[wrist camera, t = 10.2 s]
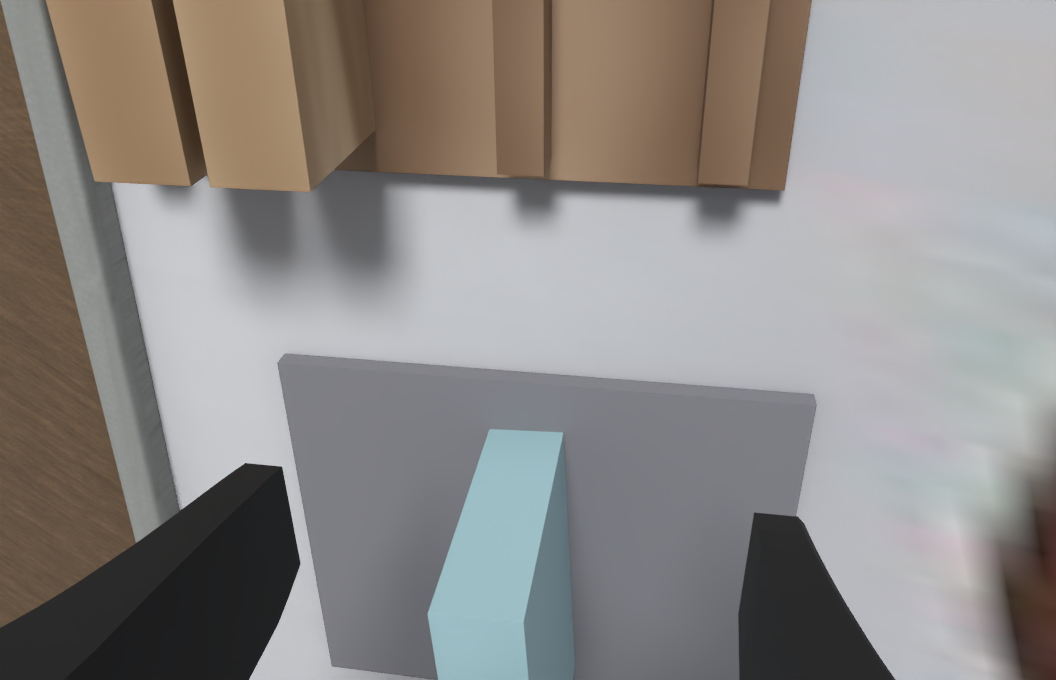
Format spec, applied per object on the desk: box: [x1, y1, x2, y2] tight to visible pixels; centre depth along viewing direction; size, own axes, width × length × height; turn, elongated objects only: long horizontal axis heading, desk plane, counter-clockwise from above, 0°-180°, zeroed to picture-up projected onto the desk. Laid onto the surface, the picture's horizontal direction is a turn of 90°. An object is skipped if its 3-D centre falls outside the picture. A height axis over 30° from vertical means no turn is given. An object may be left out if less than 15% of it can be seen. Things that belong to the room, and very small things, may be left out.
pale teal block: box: [428, 429, 575, 680], centre depth 23 cm, size 2×9×6 cm, turn 4°
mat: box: [277, 354, 816, 680], centre depth 26 cm, size 14×12×1 cm
